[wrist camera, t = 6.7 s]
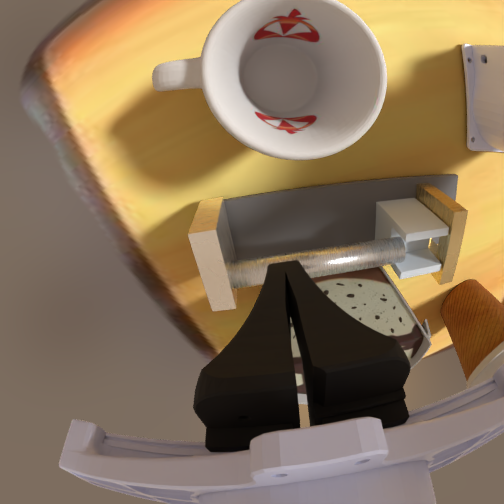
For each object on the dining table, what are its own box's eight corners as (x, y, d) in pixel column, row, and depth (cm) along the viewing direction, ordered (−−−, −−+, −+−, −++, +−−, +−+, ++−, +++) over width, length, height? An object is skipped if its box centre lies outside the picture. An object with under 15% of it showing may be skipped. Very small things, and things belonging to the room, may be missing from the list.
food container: (257, 319, 28) (262, 415, 20) (245, 272, 24) (247, 381, 16) (379, 298, 27) (413, 384, 18) (387, 249, 23) (438, 342, 15)
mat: (208, 202, 21) (207, 204, 21) (455, 174, 19) (458, 175, 19) (226, 274, 24) (226, 277, 24) (446, 239, 23) (448, 241, 23)
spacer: (416, 183, 20) (454, 212, 15) (429, 182, 20) (467, 210, 15) (410, 247, 23) (439, 284, 18) (422, 245, 23) (451, 281, 18)
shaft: (200, 200, 20) (187, 234, 16) (382, 175, 19) (415, 202, 15) (218, 268, 23) (212, 311, 19) (379, 244, 22) (405, 281, 18)
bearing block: (374, 199, 21) (406, 234, 16) (412, 195, 21) (449, 227, 16) (372, 239, 23) (399, 279, 18) (408, 233, 23) (440, 270, 18)
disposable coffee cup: (431, 339, 31) (467, 413, 21) (425, 293, 26) (477, 381, 16) (486, 305, 28) (529, 369, 18) (489, 253, 24) (550, 324, 14)
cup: (178, 136, 18) (139, 166, 12) (175, 29, 14) (132, -2, 7) (334, 137, 19) (381, 168, 12) (337, 31, 14) (389, 4, 8)
